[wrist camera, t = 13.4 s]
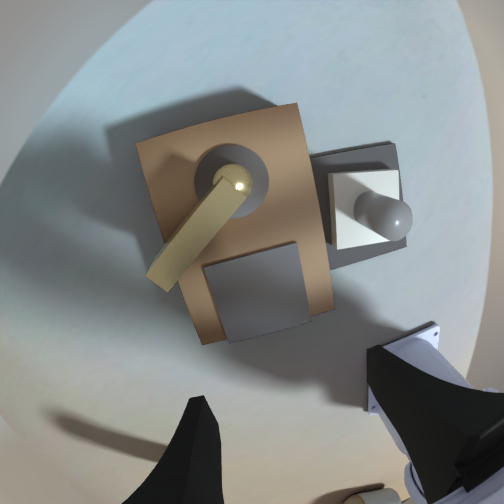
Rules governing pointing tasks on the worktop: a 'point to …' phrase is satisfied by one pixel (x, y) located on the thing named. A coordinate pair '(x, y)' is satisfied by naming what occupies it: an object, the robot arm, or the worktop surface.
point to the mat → (321, 167)
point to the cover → (367, 208)
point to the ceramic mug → (375, 497)
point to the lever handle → (201, 225)
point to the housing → (245, 223)
